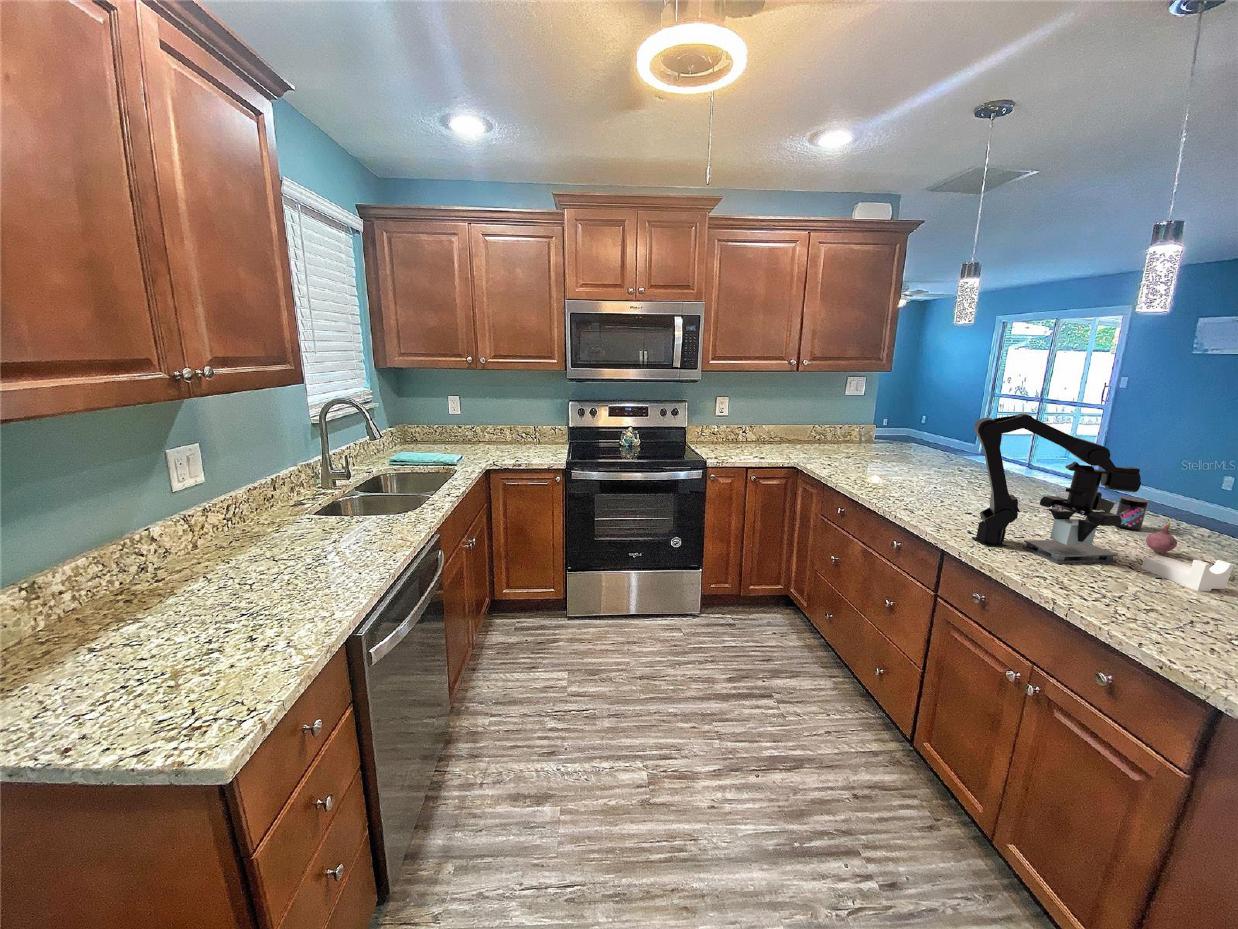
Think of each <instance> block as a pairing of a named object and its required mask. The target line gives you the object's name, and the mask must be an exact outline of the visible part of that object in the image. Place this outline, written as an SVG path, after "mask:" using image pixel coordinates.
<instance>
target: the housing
mask: <svg viewBox="0 0 1238 929" xmlns="http://www.w3.org/2000/svg"><path fill="white" fill-rule="evenodd" d="M1053 519H1054V518H1053ZM1079 520H1082V519H1080V518H1070V519H1054V520H1053V524H1052V528H1051V533H1050V536H1049V539H1050V540H1055V541H1058V542H1060V543H1063V544H1065V545H1093V543H1094V539H1095V535H1096V531H1097V527H1098V526H1097V527H1096V528H1095V529H1094V530H1093V531H1092V532H1091V533H1090V534H1089V535H1088V536H1087V538H1086V539H1085V540H1084V541H1083V542H1079V541H1078V522H1079Z"/></svg>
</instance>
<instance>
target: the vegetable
mask: <svg viewBox="0 0 1238 929" xmlns="http://www.w3.org/2000/svg"><path fill="white" fill-rule="evenodd" d="M1170 526H1171V523H1170V522H1167V523H1166V525H1164V527H1163V529H1162V530H1161V531H1156V532H1152V533H1149V534H1148V535H1147V537H1146V538H1145V543H1146V546H1147V547H1148V548H1149V549H1151V550H1152V551H1153V552H1154V553H1156V554H1164V553H1167V552H1170V551H1172V550H1174V549H1175V548H1176V547H1177V545H1178V541H1177V539H1176V538H1175V537H1174V536H1173V535H1171V534H1170V533H1169V530H1170Z"/></svg>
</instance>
